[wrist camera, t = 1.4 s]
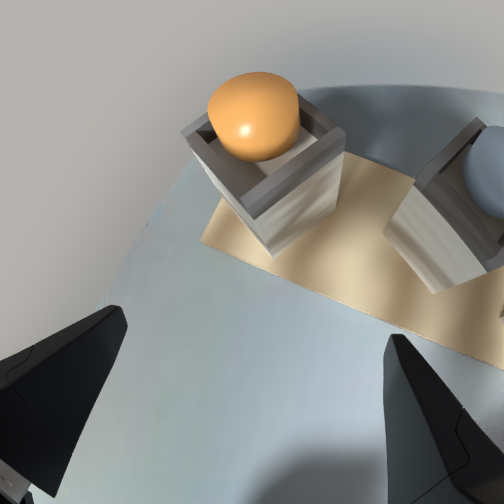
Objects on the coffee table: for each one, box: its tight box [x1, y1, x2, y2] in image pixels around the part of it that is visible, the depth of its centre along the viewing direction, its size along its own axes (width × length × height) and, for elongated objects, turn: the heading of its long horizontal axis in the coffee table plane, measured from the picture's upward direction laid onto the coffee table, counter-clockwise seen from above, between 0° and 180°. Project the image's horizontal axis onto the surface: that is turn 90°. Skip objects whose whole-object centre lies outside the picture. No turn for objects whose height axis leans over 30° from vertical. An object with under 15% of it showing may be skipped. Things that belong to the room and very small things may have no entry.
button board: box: [181, 93, 504, 370], centre depth 16 cm, size 11×33×11 cm, turn 64°
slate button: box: [462, 126, 504, 219], centre depth 11 cm, size 4×4×2 cm
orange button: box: [208, 72, 300, 162], centre depth 13 cm, size 4×4×2 cm
